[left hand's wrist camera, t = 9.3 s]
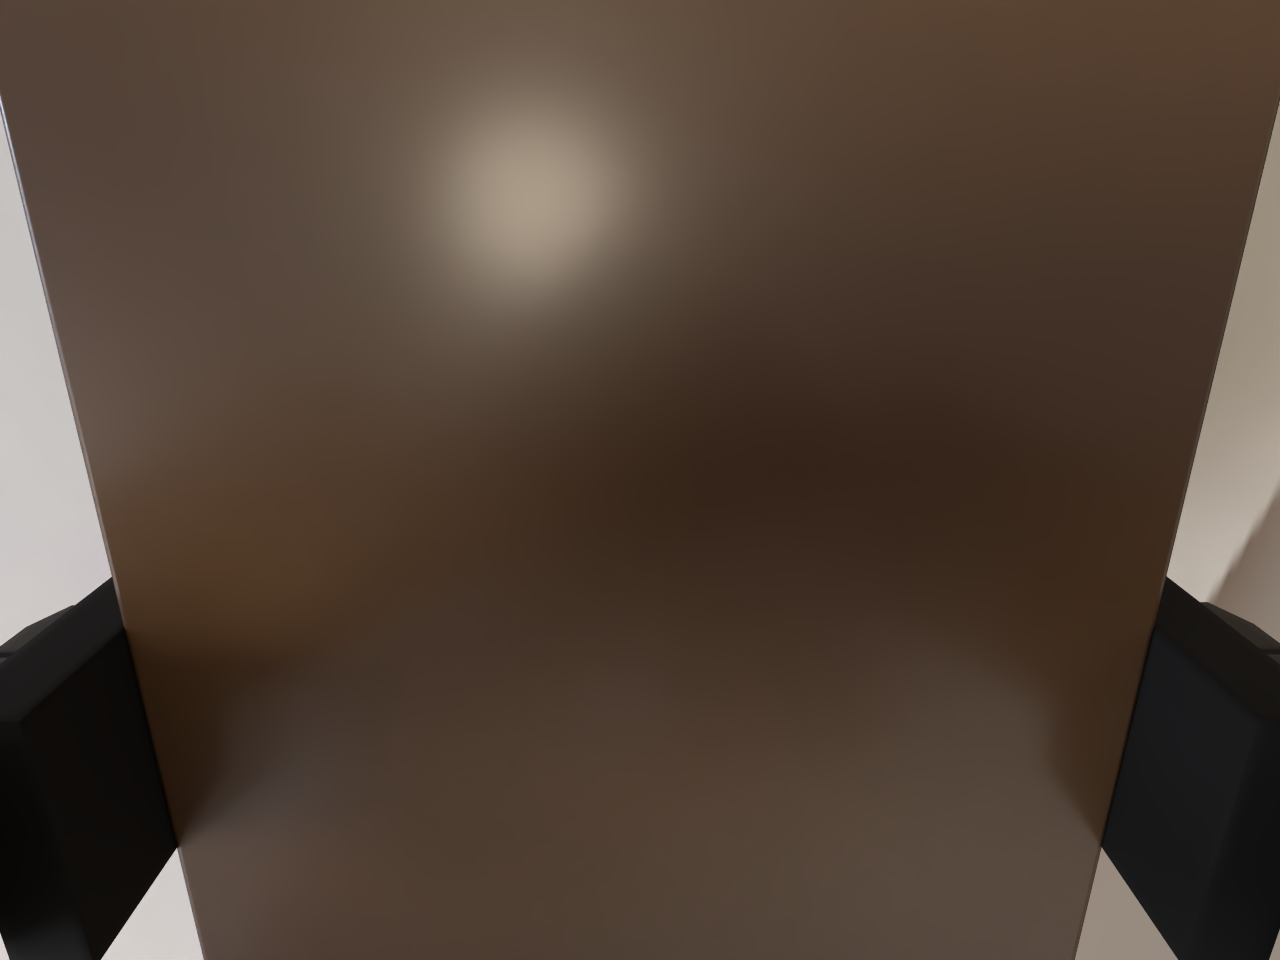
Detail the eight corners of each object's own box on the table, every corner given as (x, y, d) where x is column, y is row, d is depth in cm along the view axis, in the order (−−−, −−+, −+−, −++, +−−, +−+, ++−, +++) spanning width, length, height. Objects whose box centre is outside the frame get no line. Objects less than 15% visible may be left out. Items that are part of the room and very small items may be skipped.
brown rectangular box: (306, -463, 13) (-534, -2076, 4) (968, -461, 13) (1806, -2064, 4) (420, 638, 19) (224, 1057, 10) (857, 637, 19) (1054, 1055, 10)
